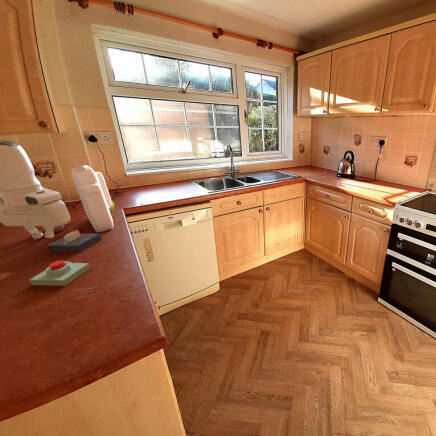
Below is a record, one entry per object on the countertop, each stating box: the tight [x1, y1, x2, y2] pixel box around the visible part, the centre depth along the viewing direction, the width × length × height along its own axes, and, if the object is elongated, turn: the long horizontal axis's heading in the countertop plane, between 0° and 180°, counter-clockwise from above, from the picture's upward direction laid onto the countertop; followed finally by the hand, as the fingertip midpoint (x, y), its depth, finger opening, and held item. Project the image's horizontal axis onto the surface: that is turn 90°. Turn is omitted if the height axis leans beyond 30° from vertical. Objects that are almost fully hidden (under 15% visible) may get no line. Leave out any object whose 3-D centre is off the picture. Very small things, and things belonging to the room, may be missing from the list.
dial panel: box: [46, 233, 103, 253], centre depth 105 cm, size 14×11×3 cm
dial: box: [64, 229, 81, 242], centre depth 104 cm, size 5×1×3 cm, turn 175°
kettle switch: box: [49, 259, 66, 270], centre depth 82 cm, size 4×4×2 cm
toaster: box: [70, 164, 114, 233], centre depth 121 cm, size 27×11×30 cm, turn 44°
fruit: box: [109, 200, 115, 214], centre depth 139 cm, size 9×9×10 cm
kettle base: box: [29, 260, 92, 287], centre depth 83 cm, size 12×10×4 cm
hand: (44, 237), depth 78 cm, fingers open, 3 cm apart
